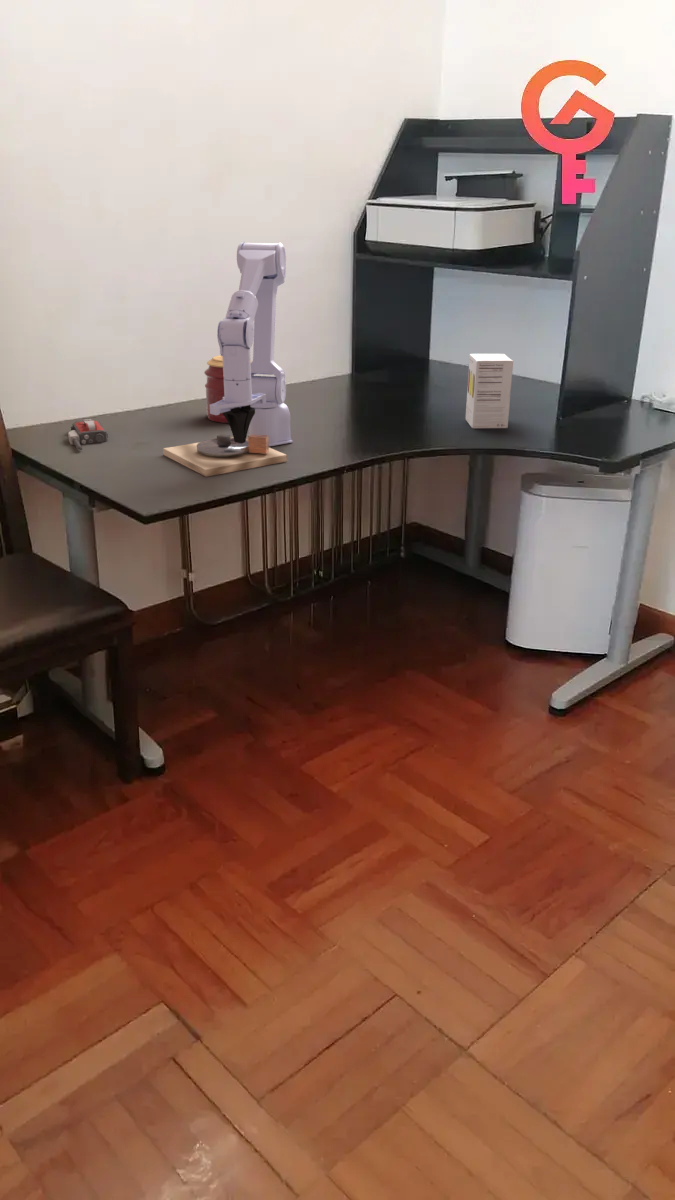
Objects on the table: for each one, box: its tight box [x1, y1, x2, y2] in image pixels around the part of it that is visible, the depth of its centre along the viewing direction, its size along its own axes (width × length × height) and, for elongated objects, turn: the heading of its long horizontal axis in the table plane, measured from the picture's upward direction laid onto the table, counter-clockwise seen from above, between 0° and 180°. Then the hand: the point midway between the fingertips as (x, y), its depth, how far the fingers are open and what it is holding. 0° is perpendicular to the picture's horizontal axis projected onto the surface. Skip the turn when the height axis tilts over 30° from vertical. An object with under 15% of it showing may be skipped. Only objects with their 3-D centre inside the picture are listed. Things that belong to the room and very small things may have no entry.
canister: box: [203, 354, 255, 424], centre depth 241 cm, size 13×13×18 cm
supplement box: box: [465, 353, 514, 429], centre depth 236 cm, size 10×9×17 cm
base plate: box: [162, 433, 288, 478], centre depth 209 cm, size 20×20×5 cm
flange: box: [197, 434, 270, 457], centre depth 208 cm, size 16×12×4 cm
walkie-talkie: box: [67, 418, 109, 451], centre depth 223 cm, size 9×4×20 cm
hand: (240, 442), depth 202 cm, fingers closed
